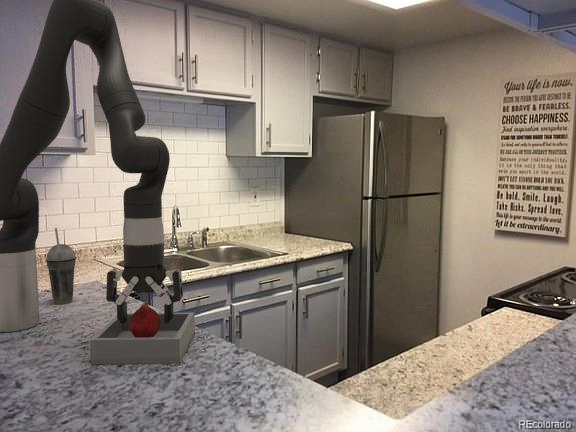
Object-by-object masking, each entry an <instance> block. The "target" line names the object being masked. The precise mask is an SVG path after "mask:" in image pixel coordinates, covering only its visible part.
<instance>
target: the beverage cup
mask: <svg viewBox="0 0 576 432" xmlns="http://www.w3.org/2000/svg"><path fill="white" fill-rule="evenodd" d="M54 231H55V232H54V233H55V239H56V244H55V245H53V246H51V248H50V249H48V251H47V254H46V258H45V262H46V266H47V269H48V274H49V276H48V277H49V281H50V290H51V295H52V301H53V305H57V306H58V305H60V306H62V305H67V304H72V303H73V297H74V284H75V283H74V282H75V280H74V279H75V266H76V260H77V257H76V252H75V251H74V249H73V248H72V247H71V246H69V245H67V244H65V243H64V244H63V243H61V244H60V238H59V233H58V227H55V228H54Z"/></svg>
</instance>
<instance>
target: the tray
mask: <svg viewBox="0 0 576 432" xmlns="http://www.w3.org/2000/svg"><path fill="white" fill-rule="evenodd" d="M134 313H135V312H127V321H126V322H125V323H120V320H118V319H117V315H115V316H114V317H113V318H112V319H111V320H110V321H109V322H108V323H107V324H106V325H104V326H103V328H101V329H100V330H99V331H98V332H97V333H96V334H95V335H93V337H91V338H90V340H89V353H90V354H89V355H90V356H89V357H90V365H131V364H132V365H135V364H136V365H137V364H139V365H140V364H142V365H143V364H148V365H149V364H151V365H153V364H155V365H157V364H181V362H182V360H183V358H184V356H185V354H186V352H187V350H188V348H189V346H190V343H191V341H192V339H193V337H194V335H195V333H196V331H195V330H196V327H195V325H196V322H195V312H173V313H174V316H173V318H172V320H170V322H169V323H165V322H164V312H157V313H158V315H159V317H160V321H161V323H160V329H159V331H158V333H157V334H156V335H155V336H154V337H152V338H136V337H135V336H133V334H132V332H131V331H130V326H129V325H130V320H131V317H132V315H133V314H134Z"/></svg>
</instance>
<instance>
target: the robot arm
mask: <svg viewBox="0 0 576 432" xmlns="http://www.w3.org/2000/svg"><path fill="white" fill-rule="evenodd" d="M45 19H46V20H45V23H44V27H43V31H42V34H41V38H40V40H39V46H38V49H37V51H36V54H35V57H34V59H33V62H32V66H31V68H30V70H29V73H28V76H27V79H26V81H25V83H24V86H23V88H22V90H21V92H20V94H19V97H18V99H17V101H16V104H15V106H14V109H13V111H12V115H11V117H10V120H9V122H8V125H7V128H6V130H5V132H4V134H3V136H2V139H1V141H0V222H2V226H1V228H0V333H1V332H2V333H3V332H5V333H9V332H10V333H11V332H17V331H22V330H27V329H31V328H33V327H35V326H38V325H39V324H40V307H39V306H40V305H39V302H40V301H39V284H38V283H39V282H38V267H37V248H36V247H37V246H36V244H37V243H36V241H37V239H38V237H39V232H40V202H39V201H40V200H39V194H38V191H37V188H36V187H35V185H34V184H33V182H32V181H30V180H29V179H26V178H24V177H23V176H24V173H25V171H26V169H27V168H28V167H29V166H30V165H31V163H32V162H33V161H34V160H35V159H36V158H37V157H38V156H40V155H41V154H42V153H43V152H44V151H45V150H46V149H47V148H48V147H49V146H50V145H51V144H52V143H53V142H54V140H55V139H56V138H57V137H58V135H59V134H60V131H61V130H62V128H63V125H64V123H65V121H66V118H67V116H68V114H69V110H70V107H71V106H70V105H71V98H70V91H69V83H68V76H67V64H68V63H67V62H68V58H69V55H70V52H71V49H72V47H73V44H74V42H75V41H76V42H78V43H80V44H83V45H86V46H88V47H89V48H90V50H91V52H92V53H93V54H94V56H95V58H96V60H97V63H98V69H99V70H98V75H97V79H96V80H97V81H96V93H97V97H98V101H99V103H100V106H101V108H102V111H103V114H104V117H105V119H106V122H107V123H108V129H109V130H108V132H109V134H108V135H109V140H110V153H111V154H110V155H111V159H112V161H113V162H114V164H115V166H116V167H117V168H118V169H119V170H120V171H122V172H123V173H125V174H140V177H139V180H138V183H136V184H134V185H133V186H130V187H127V188H126V189H125V190H124V191H123V226H122V227H123V228H122V239H123V240H122V242H123V243H122V244H123V247H122V248H123V270H118V269H116V268H112V269H110V270H109V271H108V272H107V273H106V296H105V300H106V301H107V302H108V303H110V302H111V303H114V304H115V305H116V316H117V319H118V320H120V323H125V322H126V321H127V313H128V302H127V301H126V300H127V299H128V298H129V296H130V295H131V294H132V292H135V294H142V293H147V294H152V293H154V292H155V294H156V295H157V296H158V298H160V299H161V300H162V301H163V302H164V303H165V304H164V305H163V310H164V311H163V313H164V322H165V323H169V322H170V320H172V318H173V316H174V313H175V312H174V304H175V303H177V302H181V300H182V298H183V297H184V293H183V292H184V291H183V290H184V289H183V277H182V270H181V269H180V268H176V269H175V270H167V269H166V266H165V232H164V231H165V230H164V223H163V205H162V204H163V202H162V200H163V199H162V198H163V196H162V195H163V192H164V188H165V184H166V180H167V176H168V171H169V166H170V161H171V159H170V158H171V157H170V152H169V149H168V146H167V144H166V143H165V142H164V141H163V139H161V138H159V137H155V136H146V135H145V136H143V135H137V134H136V132H137V131H139V130H140V129H142V127H144V125H145V123H146V114H145V112H144V109H143V107H142V105H141V101H140V100H139V97H138V95H137V93H136V90H135V87H134V85H133V83H132V81H131V78H130V74H129V71H128V67H127V64H126V59H125V55H124V51H123V50H124V49H123V46H122V44H121V43H122V42H121V38H120V32H119V29H118V24H117V22H116V18H115V16H114V12H113V11H112V10H111V8H110V7H109V6H108V5H107V4H105V3H104V2H103V1H101V0H53V1H52V2H51V4H50V8H49V10H48V13H47V16H46V18H45ZM121 278H122V279H123V280H124V282H125V283H126V284H127V285H126V286H125V287H124V289H123V290H122V291H121V293H120V295H119V294H118V282H119V281H120V280H121ZM167 278H169V279H168V280H169V281H170V282H171V283H172V286H173V294H172V293H171V292H170V290H169V288H168V286H166V284H165V283H164V281H165V280H166V279H167Z"/></svg>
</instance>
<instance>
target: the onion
mask: <svg viewBox="0 0 576 432" xmlns="http://www.w3.org/2000/svg"><path fill="white" fill-rule="evenodd" d="M133 313H134V314H133V315H132V317H131V320H130V325H129V326H130V331H131V332H132V334H133V336H135V337H136V338H152V337H154V336H155V335H156V334H157V333H158V331H159V329H160V323H161V321H160V317H159V315H158V313H159V312H157V311H156V310H155V309H154V308H152V307H150V305H149V303H148V302H147V301H144V302H143V303H142V304H141V305H140V307H139V308H138V309H137V310H135V311H134V312H133Z"/></svg>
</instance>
